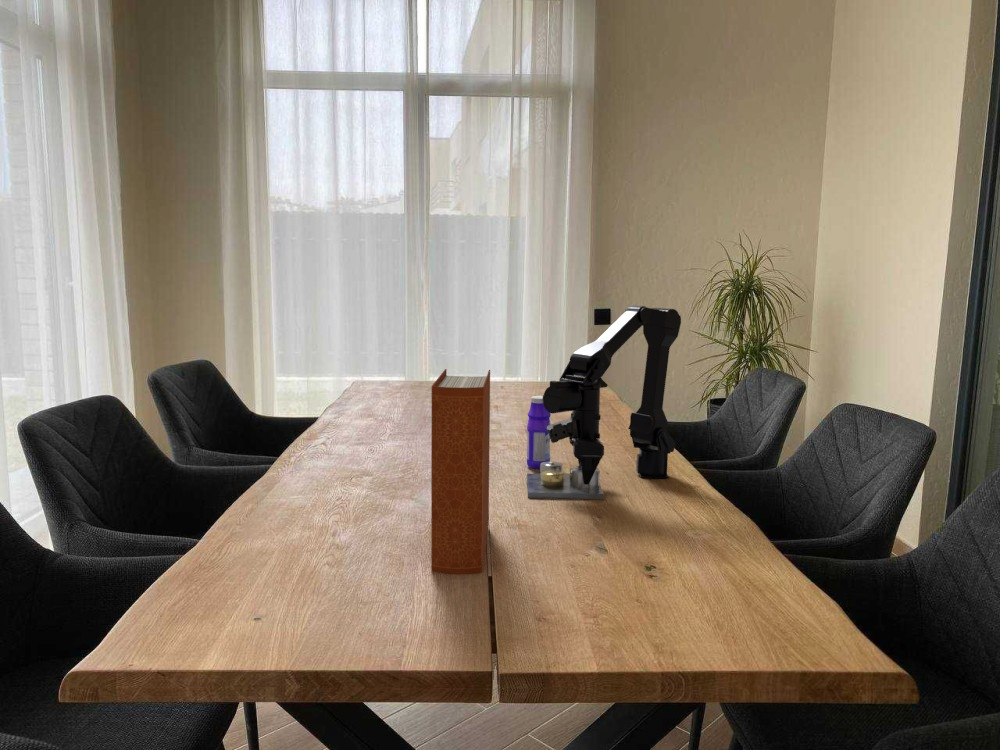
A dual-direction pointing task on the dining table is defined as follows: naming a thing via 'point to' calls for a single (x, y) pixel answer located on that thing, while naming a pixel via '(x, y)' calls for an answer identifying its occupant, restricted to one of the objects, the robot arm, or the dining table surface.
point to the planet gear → (577, 478)
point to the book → (459, 473)
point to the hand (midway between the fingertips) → (584, 478)
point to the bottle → (538, 434)
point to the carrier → (557, 484)
